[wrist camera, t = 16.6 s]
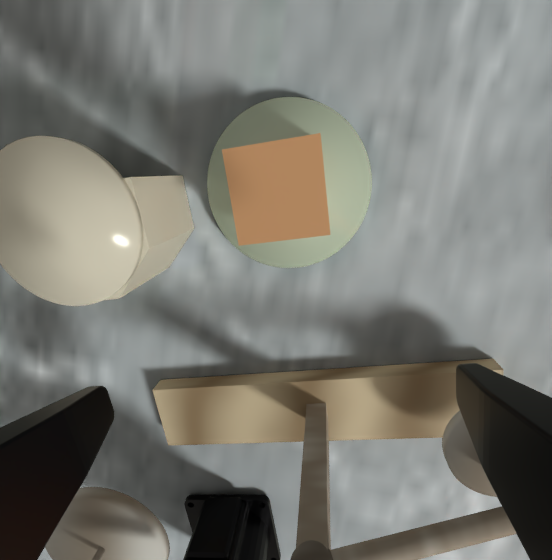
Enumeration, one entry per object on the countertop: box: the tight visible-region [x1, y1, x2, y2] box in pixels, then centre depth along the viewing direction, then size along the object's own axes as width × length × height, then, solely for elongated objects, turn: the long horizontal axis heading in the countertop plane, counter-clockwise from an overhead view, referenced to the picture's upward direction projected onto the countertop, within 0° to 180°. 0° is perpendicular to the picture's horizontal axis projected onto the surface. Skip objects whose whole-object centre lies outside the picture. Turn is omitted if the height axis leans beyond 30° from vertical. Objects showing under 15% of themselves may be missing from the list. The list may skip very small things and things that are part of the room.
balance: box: [45, 359, 517, 560], centre depth 16 cm, size 24×6×13 cm, turn 99°
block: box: [222, 133, 331, 246], centre depth 16 cm, size 4×4×4 cm
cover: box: [0, 136, 194, 306], centre depth 18 cm, size 7×7×6 cm
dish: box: [207, 97, 372, 268], centre depth 18 cm, size 9×9×1 cm
